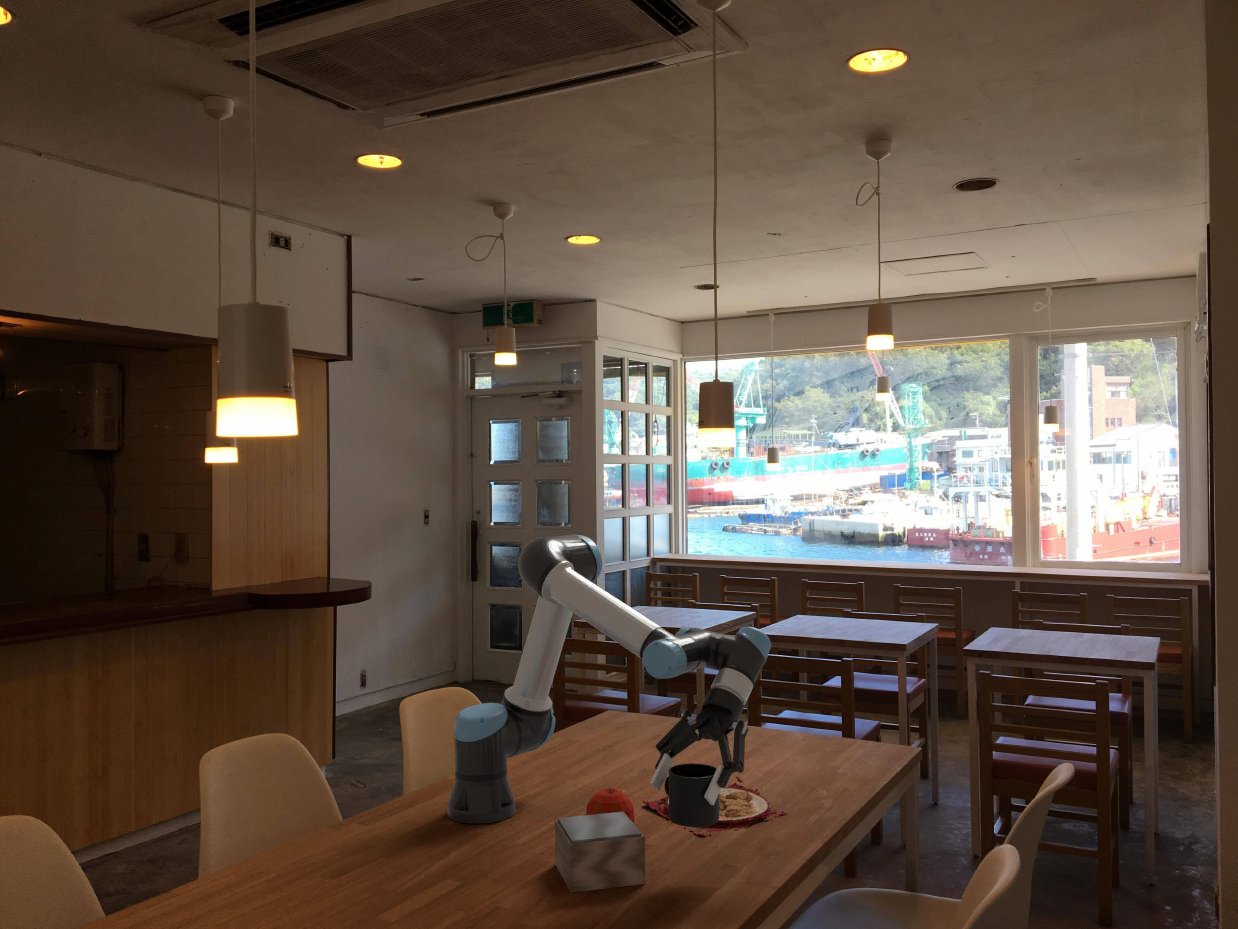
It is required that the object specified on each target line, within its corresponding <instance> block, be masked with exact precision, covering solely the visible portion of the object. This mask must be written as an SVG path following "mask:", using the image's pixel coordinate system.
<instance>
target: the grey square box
mask: <svg viewBox="0 0 1238 929" xmlns="http://www.w3.org/2000/svg"><path fill="white" fill-rule="evenodd" d="M634 823H635V822H634ZM634 823H633V822H632V821H631V820H630V819H629V818H628V816H627V815H626V814H625V813H624V812H615V813H605V814H595V815H586V814H585V815H578V816H577V815H576V816H566V817H558V818H557V819H555V821H554V825H555V826H554V830H555V831H554V841H555V842H554V844H555V847H554V848H555V850H554V851H555V852H554V853H555V854H554V855H555V858H554V859H555V867H556V868H557V870H558V871H559V874H560V876H561V878H562V879H563V881H564V883H565V885H566V886H567V889H568V891H569V892H570V893H579V892H588V891H596V890H597V891H598V890H604V889H615V888H621V887H627V886H628V887H630V886H638V885H639V886H640V885H646V836H644V835H645V834H643V833H642V832H641V830H639V828H638V827H637V826H636V824H634Z"/></svg>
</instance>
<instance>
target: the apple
mask: <svg viewBox="0 0 1238 929" xmlns="http://www.w3.org/2000/svg"><path fill="white" fill-rule="evenodd" d="M615 812H624V813H625V814H626V815H627V816H628V818H629V819H630V820H631V821H632V822H633V823H635V821H636V815H635V808H634V803H633V802H632V800H631V799H630V798H629V796H628V795H627V794H625V793H624V792H623V791H622V790H620V789H616V788H611V787H609V788H603V789H600V790H598V791H597V792H596V793H594V794H593V795H592V796H591V797H590V799H589V800H588V802H587V804H586V812H585V813H586V814H585V815H595V814H605V813H615Z"/></svg>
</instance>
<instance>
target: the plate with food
mask: <svg viewBox="0 0 1238 929" xmlns="http://www.w3.org/2000/svg"><path fill="white" fill-rule="evenodd" d="M735 778H736V780H737V782H738V783H741V784H743V782H744V781H743V780H742V779H741V778H740V777H739V776H737V775H736V776H735ZM737 782H734V783H733V784H730V785H728V786H726V787H725V788H721V790H720V792H719V820H718V822H717V823H715V824H713V825H709V826H707V827H705V826H704V827H700V828H701V829H704V830H705V831H707V832H710V833H709V834H708V833H707V836H706V835H705V833H704V832H703V833H700V830H698V831H699V832H697V831H694V830H693V831H692V829H691V828H687V827H684V828H683V829H684V830H686V829H688V831H692V832H694V834H695V835H697V836H705V837H711V836H712V834H711V833H714V832H723V831H725V830H729V829H734V831H739V829H747V828H749V825H751V824H752V823H757V822H758V821H762V820H764V819H765V818H770V816H771V815H773V818H770V819H767V822H770V821H771V823H774V820H775V819H777V818H781V819H782V818H784V816H788V815H789V813H787V812H786V811H783V810H782V811H781V812H779V813H777V812H778V811H777V810H776V809H774V810H771V807H770V805H771V803H770V802H769V801H768V800H767V799H766V798H765V796H762V795H761V792H760V791H759V790H758V788H756V789H755V790H754V789H753V788H746V787H744V785H740V784H738V783H737ZM642 804H644V805H645V806H647V807H649V808H650V809H652V811H653V810H656V811H657V814H659V815H660V816H662V817H664V818H666V819H668V821H669V822H670V821H671V820H670V818H669V797H668V796H664V797H662V798H661V799H658V800H652V801H644V800H642ZM662 805H663V808H662ZM772 807H774V805H772ZM783 815H784V816H783Z"/></svg>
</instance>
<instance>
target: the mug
mask: <svg viewBox="0 0 1238 929" xmlns="http://www.w3.org/2000/svg"><path fill="white" fill-rule="evenodd" d="M717 768H718V767H715V766H712V765H709V764H705V763H692V762H690V763H681V764H677V765H672V766H671V768H670V769H669V772H668V775H667V776H666V778H665V780H664V783H663V785H664V786H663V787H664V791H665V794H666V795H667V796H666V797H669V818H670V821H671V822H672V823H674V824H676V825H678V826H683V827H689V828H701V827H702V828H703V827H704V828H705V827H708V826H709V825H713V824H715V823H717V822H718V820H719V795H718V797H717V799H716V801H715V803H714V805H710V804H709V802H708V801H707V800H706V798H705V797H704V796H705V794H706V791H707V789H708V787H709V785H710V783H711V781H712V778H713V776H714V774H715V772H716V770H717Z"/></svg>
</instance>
